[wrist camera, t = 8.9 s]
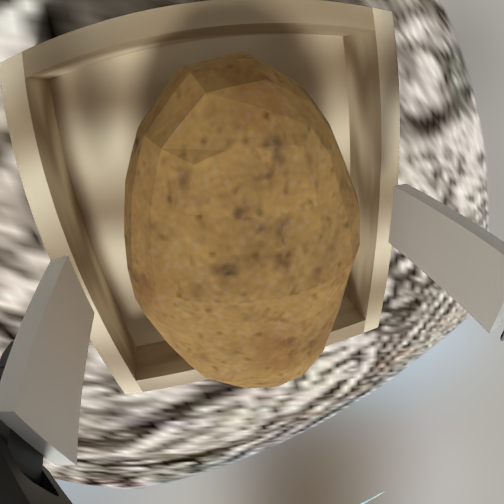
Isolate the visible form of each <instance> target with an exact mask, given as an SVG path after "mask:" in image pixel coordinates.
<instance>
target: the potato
mask: <svg viewBox="0 0 504 504" xmlns="http://www.w3.org/2000/svg"><path fill="white" fill-rule="evenodd" d="M124 238H125V249H126V259H127V268H128V273H129V277H130V281H131V284H132V288H133V292H134V296H135V299H136V301H137V303H138V304H139V306H140V307H141V309H142V310H143V312H144V313H145V315H146V316H147V318H148V319H149V320H150V321H151V323H152V324H153V325H154V327H155V328H156V329H157V330H158V332H159V333H160V334H161V335H162V337H163V338H164V339H165V340H166V342H167V343H168V344H169V345H170V346H171V347H172V348H173V349H174V350H175V351H176V352H177V353H178V354H179V355H180V356H181V357H182V358H183V359H184V360H185V361H186V362H187V363H188V364H189V365H190V366H192V367H193V368H194V369H195V370H197V371H198V372H199V373H200V374H202V375H203V376H204V377H206V378H209V379H213V380H216V381H220V382H223V383H227V384H231V385H235V386H239V387H245V388H261V387H274V386H280V385H282V384H284V383H286V382H288V381H291V380H293V379H295V378H297V377H299V376H301V375H303V374H304V373H305V372H306V371H307V370H308V369H309V367H310V366H311V365H312V364H313V363H314V362H315V360H316V359H317V358H318V357H319V356H320V354H321V353H322V352H323V350H324V347H325V345H326V342H327V340H328V337H329V335H330V332H331V330H332V327H333V324H334V322H335V319H336V316H337V314H338V311H339V308H340V305H341V302H342V298H343V295H344V292H345V288H346V285H347V281H348V278H349V275H350V272H351V269H352V266H353V263H354V261H355V258H356V255H357V252H358V249H359V246H360V215H359V205H358V197H357V194H356V191H355V189H354V186H353V183H352V180H351V178H350V175H349V172H348V169H347V167H346V164H345V162H344V159H343V156H342V154H341V151H340V149H339V146H338V144H337V141H336V139H335V136H334V134H333V131H332V129H331V127H330V124H329V122H328V121H327V119H326V118H325V117H324V115H323V114H322V112H321V111H320V109H319V108H318V106H317V105H316V103H315V102H314V101H313V99H312V98H311V96H310V95H309V94H308V92H307V91H306V89H305V88H304V87H303V86H301V85H300V84H298V83H297V82H295V81H294V80H292V79H291V78H289V77H287V76H286V75H284V74H283V73H281V72H279V71H278V70H276V69H274V68H273V67H271V66H269V65H268V64H266V63H264V62H262V61H261V60H259V59H257V58H255V57H254V56H252V55H250V54H248V53H246V52H244V51H243V52H238V53H233V54H229V55H224V56H220V57H216V58H212V59H208V60H204V61H200V62H196V63H192V64H189V65H185V66H182V67H180V68H179V69H178V70H177V72H176V73H175V74H174V76H173V77H172V78H171V80H170V81H169V82H168V84H167V85H166V87H165V88H164V89H163V91H162V92H161V94H160V95H159V96H158V98H157V99H156V101H155V102H154V104H153V105H152V107H151V108H150V110H149V111H148V113H147V114H146V116H145V117H144V119H143V120H142V122H141V123H140V125H139V127H138V129H137V133H136V137H135V140H134V144H133V148H132V153H131V157H130V161H129V166H128V170H127V175H126V179H125V202H124Z"/></svg>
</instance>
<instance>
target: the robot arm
mask: <svg viewBox="0 0 504 504" xmlns="http://www.w3.org/2000/svg"><path fill="white" fill-rule="evenodd" d="M388 242H389V243H390V244H391V245H392V246H393V247H395V248H396V249H397V250H398V251H400V252H401V253H402V254H403V255H404V256H406V257H407V258H408V259H409V260H410V261H411V262H413V263H414V264H415V265H416V266H417V267H418V268H420V269H421V270H422V271H423V272H424V273H425V274H427V275H428V276H429V277H430V278H431V279H432V280H433V281H435V282H436V283H437V284H438V285H439V286H440V287H441V288H442V289H443V290H445V291H446V292H447V293H448V294H449V295H450V296H451V297H452V298H453V299H454V300H455V301H456V302H458V303H459V304H460V305H461V306H462V307H463V308H464V309H465V310H466V311H467V312H468V313H469V314H470V315H471V316H472V317H473V318H474V319H475V320H476V321H477V322H478V323H479V324H480V325H482V327H484V328H485V329H486V331H487V332H489V333H490V332H491V331H493V330H494V329H495V328H497V327H498V326H500V325H501V323H502V321H503V319H504V242H503V241H502V240H500V239H498V238H497V237H496V236H494V235H493V234H491V233H490V232H488V231H487V230H485V229H484V228H482V227H480V226H479V225H477V224H476V223H474V222H473V221H471V220H469V219H468V218H466V217H464V216H463V215H461V214H460V213H458V212H456V211H455V210H453V209H451V208H449V207H448V206H446V205H444V204H443V203H441V202H439V201H437V200H435V199H434V198H432V197H430V196H428V195H426V194H425V193H423V192H421V191H419V190H417V189H415V188H414V187H412V186H410V185H408V184H402V185H396V186H394V188H393V201H392V212H391V222H390V231H389V240H388ZM94 314H95V313H94V311H93V309H92V307H91V305H90V303H89V301H88V299H87V296H86V294H85V292H84V290H83V288H82V286H81V284H80V281H79V279H78V277H77V275H76V272H75V270H74V268H73V266H72V263H71V261H70V258H69V256H68V255H67V256H64V257H60V258H56V259H53V260H51V262H50V263H49V265H48V267H47V269H46V271H45V273H44V275H43V277H42V279H41V281H40V283H39V285H38V287H37V289H36V292H35V294H34V296H33V298H32V300H31V302H30V305H29V307H28V309H27V311H26V314H25V316H24V318H23V321H22V323H21V325H20V328H19V330H18V333H17V335H16V338H15V340H14V341H12V342H11V343H10V344H9V345H8V347H7V348H6V350H5V351H4V352H3V354H2V356H1V359H0V504H72V503H71V501H70V500H69V499H68V497H67V496H66V495H65V493H64V492H63V491H62V489H61V488H60V487H59V485H58V484H57V482H56V481H55V479H54V478H53V477H52V475H51V474H50V472H49V471H48V470H47V469H46V468H45V467H44V466H43V465H42V464H43V456H44V457H45V458H46V459H48V460H49V461H50V462H52V463H53V464H55V465H77V445H78V428H79V415H80V405H81V395H82V387H83V379H84V371H85V364H86V358H87V352H88V346H89V340H90V334H91V329H92V324H93V319H94ZM503 340H504V331H503V333H502V335H501V341H503Z"/></svg>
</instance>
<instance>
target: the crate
mask: <svg viewBox="0 0 504 504" xmlns="http://www.w3.org/2000/svg"><path fill="white" fill-rule="evenodd" d="M243 51H244V52H246V53H248V54H250V55H252V56H254V57H255V58H257V59H259V60H261V61H262V62H264V63H266V64H268V65H269V66H271V67H273V68H274V69H276V70H278V71H279V72H281V73H283V74H284V75H286V76H287V77H289V78H291V79H292V80H294V81H295V82H297V83H298V84H300V85H301V86H303V87H304V88H305V89H306V91H307V92H308V94H309V95H310V96H311V98H312V99H313V101H314V102H315V103H316V105H317V106H318V108H319V109H320V111H321V112H322V114H323V115H324V117H325V118H326V119H327V121H328V122H329V124H330V127H331V129H332V131H333V134H334V136H335V139H336V141H337V144H338V146H339V149H340V151H341V154H342V156H343V159H344V162H345V164H346V167H347V169H348V172H349V175H350V178H351V180H352V183H353V186H354V189H355V191H356V194H357V197H358V205H359V215H360V246H359V249H358V252H357V255H356V258H355V261H354V263H353V266H352V269H351V272H350V275H349V278H348V281H347V285H346V288H345V292H344V295H343V298H342V302H341V305H340V308H339V311H338V314H337V316H336V319H335V322H334V324H333V327H332V330H331V332H330V335H329V337H328V340H327V342H326V345H325V346H327V345H330V344H333V343H336V342H339V341H342V340H345V339H348V338H350V337H353V336H356V335H359V334H361V333H364V332H367V331H369V330H372V329H375V328H377V327H378V324H379V320H380V315H381V310H382V304H383V299H384V293H385V288H386V282H387V276H388V269H389V263H390V255H391V248H392V245H391V244H390V243H389V242H388V240H389V231H390V222H391V212H392V201H393V188H394V186H396V185H398V171H399V143H400V107H399V79H398V63H397V51H396V40H395V31H394V23H393V15H392V11H387V10H382V9H377V8H372V7H367V6H361V5H355V4H348V3H341V2H333V1H323V0H209V1H199V2H191V3H184V4H177V5H171V6H165V7H159V8H154V9H149V10H144V11H140V12H135V13H131V14H127V15H123V16H119V17H115V18H112V19H108V20H105V21H101V22H98V23H95V24H92V25H88V26H85V27H82V28H79V29H77V30H74V31H71V32H68V33H66V34H63V35H60V36H58V37H55V38H53V39H50V40H48V41H45V42H43V43H41V44H38V45H36V46H34V47H32V48H29V49H27V50H25V51H23V52H21V53H19V54H17V55H15V56H13V57H11V58H9V59H7V60H5V61H3V62H1V63H0V79H1V87H2V94H3V101H4V107H5V112H6V118H7V123H8V128H9V133H10V137H11V142H12V146H13V150H14V154H15V158H16V162H17V166H18V169H19V173H20V176H21V180H22V183H23V187H24V190H25V193H26V196H27V199H28V202H29V205H30V208H31V211H32V214H33V217H34V219H35V222H36V225H37V228H38V230H39V233H40V235H41V238H42V241H43V243H44V246H45V248H46V250H47V253H48V255H49V258H50V260H53V259H56V258H60V257H64V256H67V255H68V256H69V258H70V261H71V263H72V266H73V268H74V270H75V272H76V275H77V277H78V279H79V281H80V284H81V286H82V288H83V290H84V292H85V294H86V296H87V299H88V301H89V303H90V305H91V307H92V309H93V311H94V313H95V314H94V319H93V324H92V329H91V334H90V339H91V341H92V343H93V344H94V346H95V348H96V350H97V351H98V353H99V354H100V356H101V358H102V359H103V361H104V363H105V364H106V366H107V367H108V369H109V370H110V372H111V374H112V375H113V377H114V378H115V380H116V381H117V383H118V384H119V386H120V387H121V388H122V390H123V391H124V393H125V394H132V393H138V392H145V391H150V390H156V389H162V388H167V387H172V386H177V385H182V384H187V383H192V382H197V381H201V380H206V379H209V378H206V377H204V376H203V375H202V374H200V373H199V372H198V371H197V370H195V369H194V368H193V367H192V366H190V365H189V364H188V363H187V362H186V361H185V360H184V359H183V358H182V357H181V356H180V355H179V354H178V353H177V352H176V351H175V350H174V349H173V348H172V347H171V346H170V345H169V344H168V343H167V342H166V340H165V339H164V338H163V337H162V335H161V334H160V333H159V332H158V330H157V329H156V328H155V327H154V325H153V324H152V323H151V321H150V320H149V319H148V318H147V316H146V315H145V313H144V312H143V310H142V309H141V307H140V306H139V304H138V303H137V301H136V299H135V296H134V292H133V288H132V284H131V281H130V277H129V273H128V268H127V259H126V249H125V238H124V202H125V179H126V175H127V170H128V166H129V161H130V157H131V153H132V148H133V144H134V140H135V137H136V133H137V129H138V127H139V125H140V123H141V122H142V120H143V119H144V117H145V116H146V114H147V113H148V111H149V110H150V108H151V107H152V105H153V104H154V102H155V101H156V99H157V98H158V96H159V95H160V94H161V92H162V91H163V89H164V88H165V87H166V85H167V84H168V82H169V81H170V80H171V78H172V77H173V76H174V74H175V73H176V72H177V70H178V69H179V68H180V67H182V66H185V65H189V64H192V63H196V62H200V61H204V60H208V59H212V58H216V57H220V56H224V55H229V54H233V53H238V52H243Z"/></svg>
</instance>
